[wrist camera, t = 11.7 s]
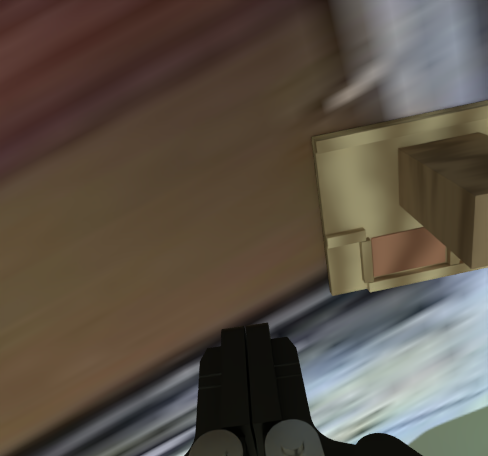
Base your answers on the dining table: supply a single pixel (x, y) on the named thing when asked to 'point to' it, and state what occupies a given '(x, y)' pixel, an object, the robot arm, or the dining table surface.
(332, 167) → the tray
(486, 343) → the dining table surface
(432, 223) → the walnut block
